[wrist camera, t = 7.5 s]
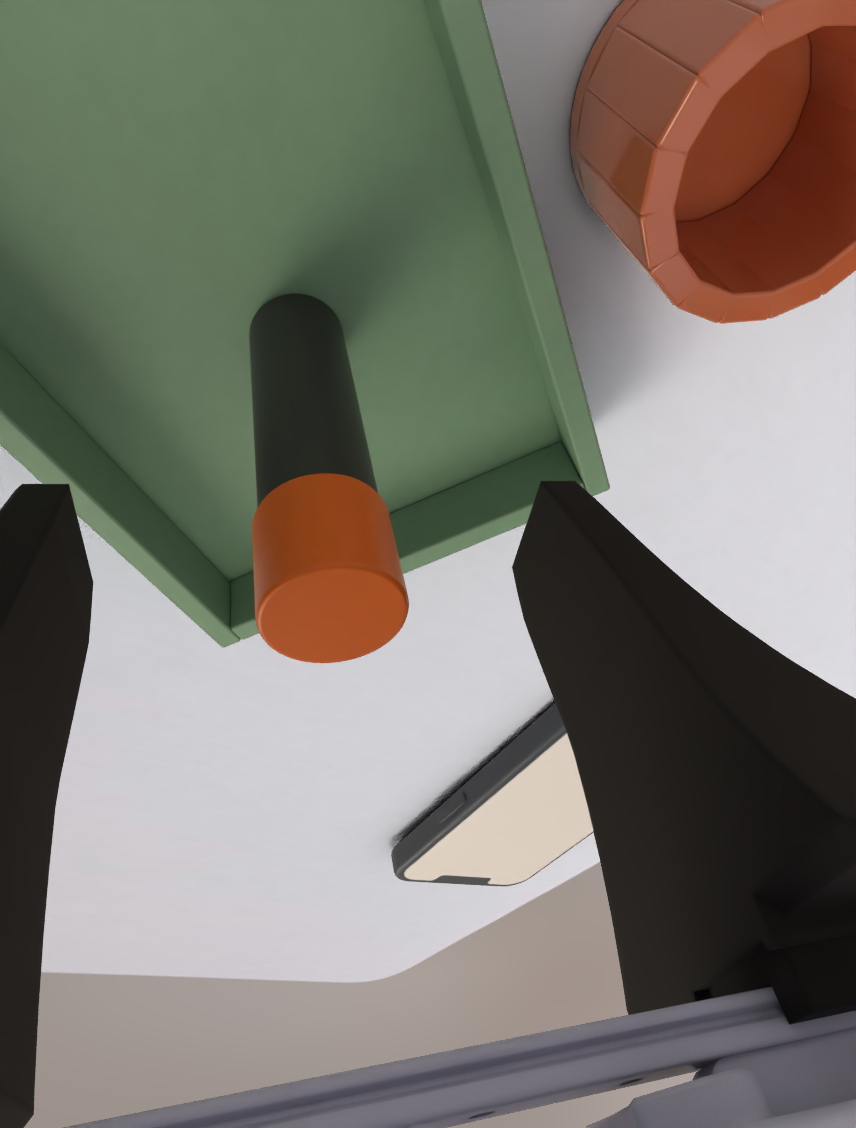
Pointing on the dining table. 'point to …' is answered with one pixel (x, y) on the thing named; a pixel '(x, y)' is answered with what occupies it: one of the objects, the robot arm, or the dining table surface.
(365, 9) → the tray
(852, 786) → the robot arm
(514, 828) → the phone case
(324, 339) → the marker
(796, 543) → the dining table surface
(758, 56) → the pen pot
